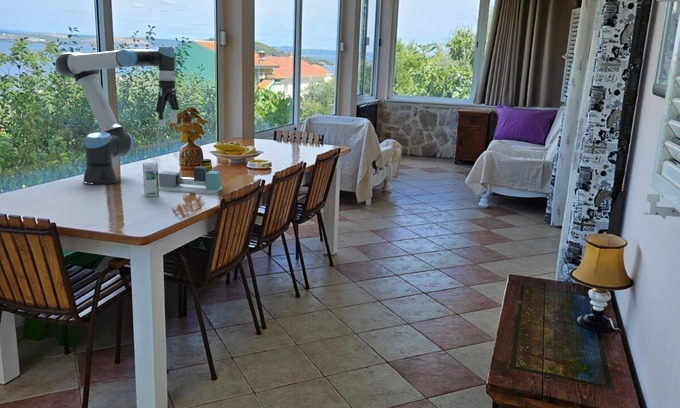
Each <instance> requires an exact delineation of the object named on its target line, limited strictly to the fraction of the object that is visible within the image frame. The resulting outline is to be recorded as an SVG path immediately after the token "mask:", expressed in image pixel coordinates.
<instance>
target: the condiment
mask: <svg viewBox="0 0 680 408" xmlns="http://www.w3.org/2000/svg"><path fill="white" fill-rule="evenodd" d="M199 166H202V167H207V168H208V172H209V171H213V164H212V159H210V158H203V159H201V160H200V164H199Z"/></svg>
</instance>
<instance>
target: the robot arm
mask: <svg viewBox="0 0 680 408" xmlns="http://www.w3.org/2000/svg"><path fill="white" fill-rule="evenodd" d="M175 57H176V56H175V48H174V47H173V46H171V45H170V46H169V45H168V46H167V45H159V46H157V49H144V48H141V49H140V48H138V49H137V48H136V49H132V48H124V49H123V48H122V49H119V50H110V51H101V52H92V53H88V52H63V53H61V54H59V55H58V56H57V57H56V58H55V63H54V64H55V69H56V70H57V72H58V73H59V74H60V75H62V76H64V77H66V78H74V80H75V82H76V84H77V85H78V86H79V85H80V86H81V88H82V90H83V92H84V95H85V97H86V99H87V102H88V103H89V105H90V108H91V110H92V113H93V115H94V117H95V119H96V121H97V123H98V127H99V128H100V130H101V131H100V132H99V131H98V132H92V133H89V134H87V135H86V136H85V138H84V149H85V161H86V162H85V163H86V164H85V165H86V167H85V171H84V175H83V177H82V178H83V179H82V180H83V183H84V182H87V183H93V184H105V185H111V184H114V183H117V182H118V176H117V174H116V171H115V169H114V167H113V159H114V158H117V157H123V156H125V155H128V154H130V153H131V152H132V151H133V150H134V149H133V147H134V145H135V144H134V142H135V140H134V138H133V135H132V134H130V133H129V132H127V131H125V129H124V127H123V126H122V125H121V124H119V123H118V120H117V119H116V118H117V117H116V116H115V114H114V111H113V110H112V108H111V105H110V103H109V100H108V99H107V96H106V94H105V92H104V89H103V86H102V84H101V82H100V80H99V79H100V77H101V75H100V72H101V70H107V69H117V68H118V69H119V68H127V67H128V68H129V67H158V68H157V69H158V77H157V78H158V79H159V80H158V88H159V89H161V90H159V91H158V97H157V103H156V107H155V111H156V113H158V126H159V127H163V128H164V127H166V113H165V109H166V105H167V103H168V104H169V105H170V108H171V110H170V122H171V124H178V116H177V115H178V113H177V111H179V110H180V107H179V102H178V98H177V91H176V81H175V80H176V71H175V70H176V68H175V67H176V66H175V62H176V59H175Z"/></svg>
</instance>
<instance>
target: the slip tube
mask: <svg viewBox="0 0 680 408" xmlns="http://www.w3.org/2000/svg"><path fill="white" fill-rule="evenodd" d="M207 172H208V168H207V167H202V166H200V165H198V166H197V165H196V166H194V167H193V177H184V176H180V177H176V184H185V185H198V186H206V173H207Z"/></svg>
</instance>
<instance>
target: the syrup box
mask: <svg viewBox="0 0 680 408" xmlns="http://www.w3.org/2000/svg"><path fill="white" fill-rule="evenodd" d="M142 178H143V192H144V193H143V194H144V195H145V197H159V196H160V190H159V164H158V162H143V163H142Z"/></svg>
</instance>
